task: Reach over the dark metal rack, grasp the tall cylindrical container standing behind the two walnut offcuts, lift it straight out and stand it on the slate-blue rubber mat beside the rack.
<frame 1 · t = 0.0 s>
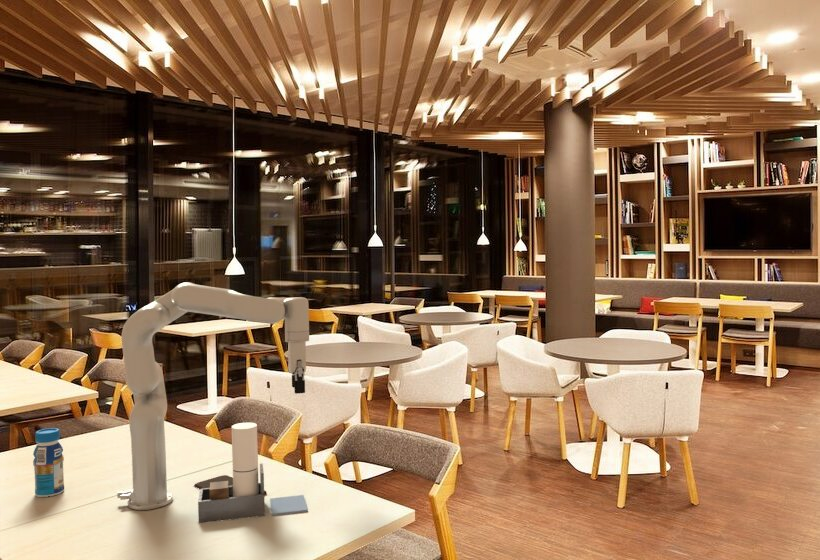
hand: (298, 389, 208), 31 cm above the table, tool pointing down, fingers open, 9 cm apart
smartphone: (229, 492, 208), on the table
cylindrical container: (246, 511, 191), resting in rack
beverage bottle: (49, 493, 207), on the table
mat: (288, 505, 194), on the table
rack: (232, 512, 189), on the table
walnut offcut upper: (219, 498, 188), point 4 cm above the table, touching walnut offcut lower
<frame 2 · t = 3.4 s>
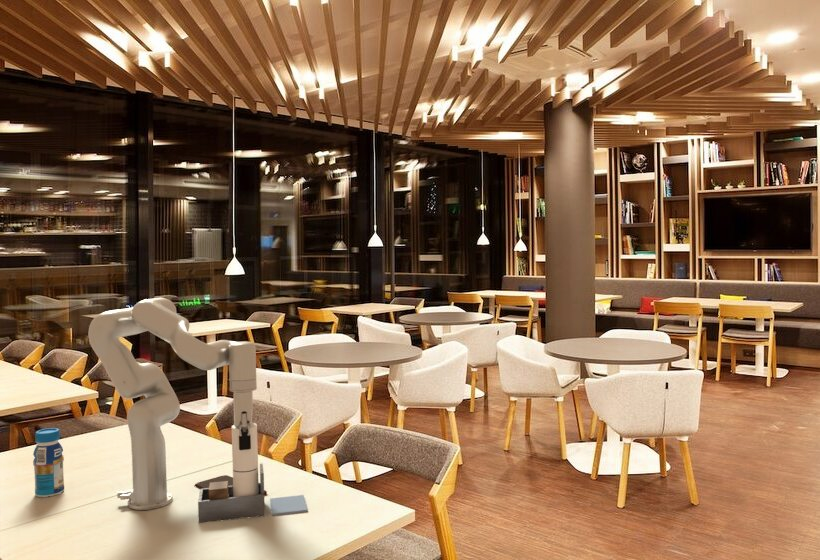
hand: (244, 445, 190), 19 cm above the table, tool pointing down, fingers closed on cylindrical container, 7 cm apart
cylindrical container: (246, 511, 191), resting in rack, touching gripper
everything else where it was.
when the fingers open (21 cm above the table, at t = 10.5 s): cylindrical container drops 1 cm, resting on mat.
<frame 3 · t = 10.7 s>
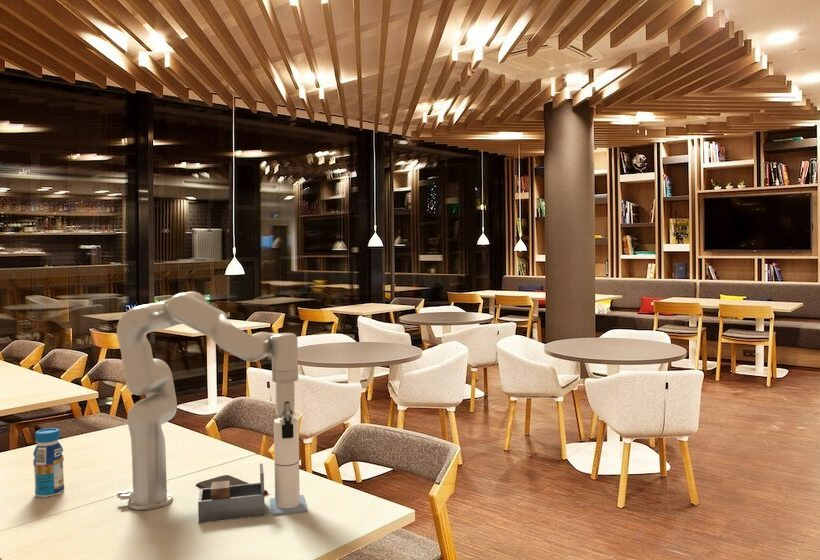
hand: (286, 433, 193), 22 cm above the table, tool pointing down, fingers open, 9 cm apart
cylindrical container: (287, 504, 194), resting on mat
everything else where it was.
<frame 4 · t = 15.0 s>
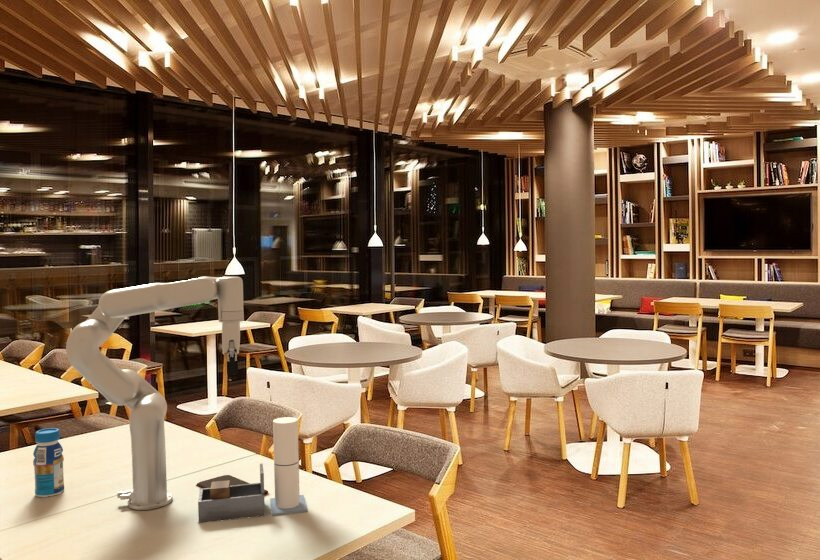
hand: (232, 371, 203), 38 cm above the table, tool pointing down, fingers open, 9 cm apart
nothing on the table moved.
at the end: cylindrical container 0.2 cm off-centre on the mat, point 0.4 cm above the mat's base; cylindrical container tilted 0°; the gripper is holding nothing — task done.
